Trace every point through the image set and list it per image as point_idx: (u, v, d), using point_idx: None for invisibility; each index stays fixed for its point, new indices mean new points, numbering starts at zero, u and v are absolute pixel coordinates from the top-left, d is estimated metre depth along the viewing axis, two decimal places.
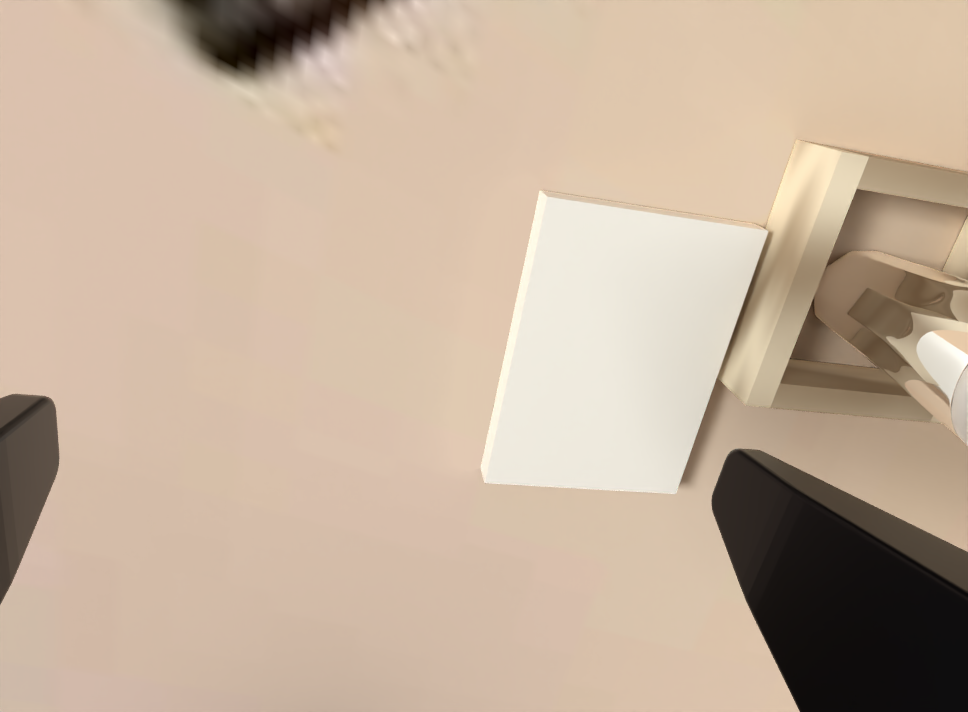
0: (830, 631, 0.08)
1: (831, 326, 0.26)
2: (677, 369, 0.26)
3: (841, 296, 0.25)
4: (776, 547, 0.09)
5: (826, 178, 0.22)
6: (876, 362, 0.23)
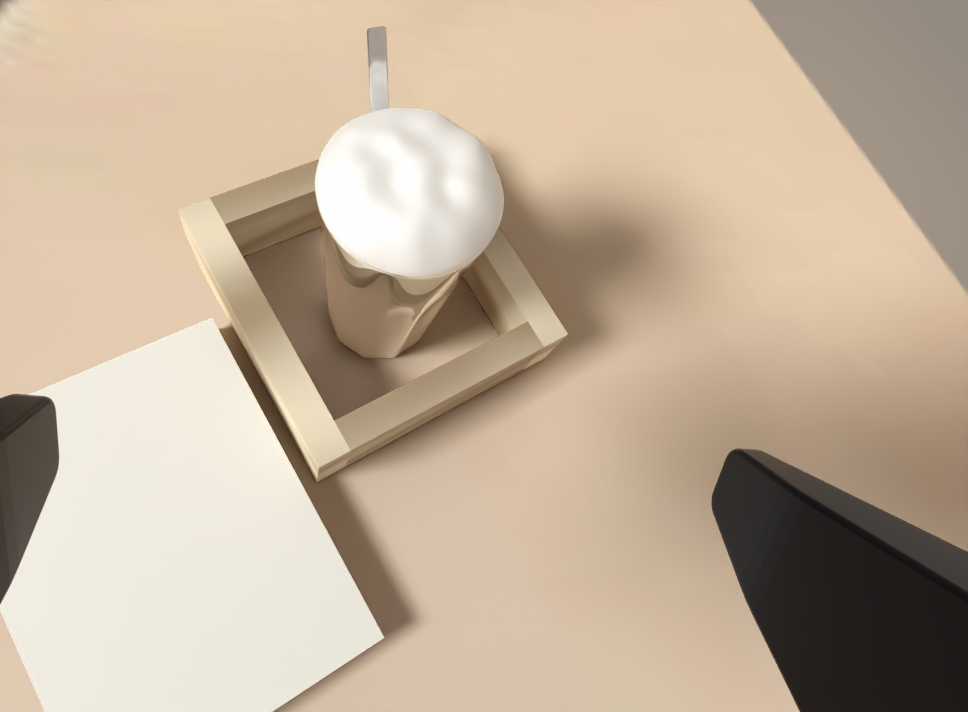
0: (830, 631, 0.08)
1: (363, 346, 0.22)
2: (240, 498, 0.20)
3: (334, 314, 0.22)
4: (776, 547, 0.09)
5: (192, 236, 0.21)
6: (370, 319, 0.20)
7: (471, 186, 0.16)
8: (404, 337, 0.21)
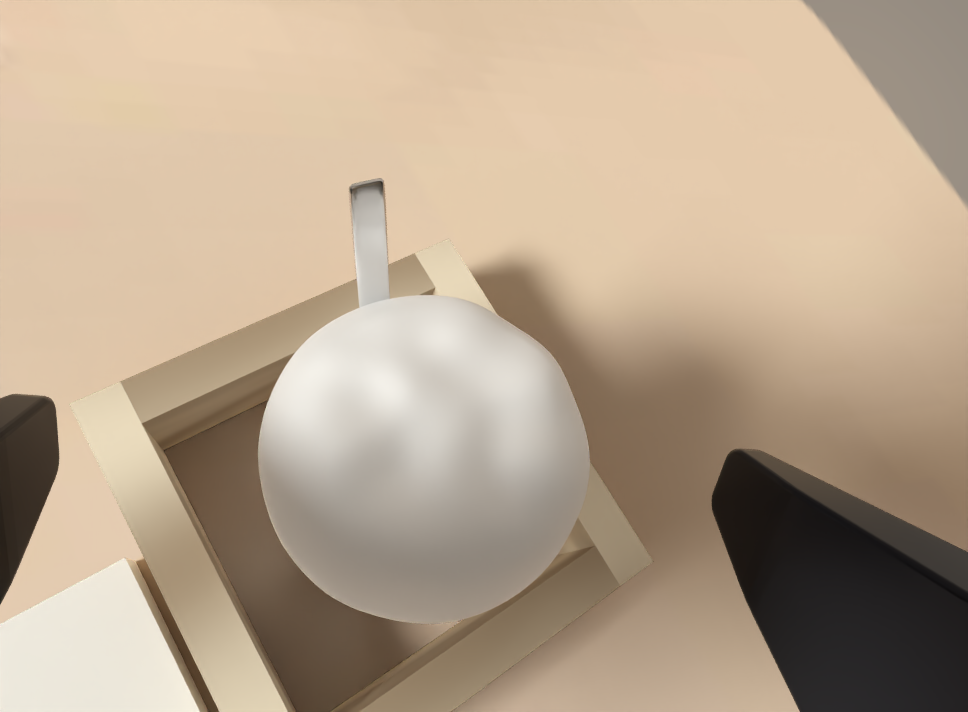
0: (830, 631, 0.08)
1: None
2: None
3: None
4: (776, 547, 0.09)
5: None
6: None
7: (541, 462, 0.09)
8: None
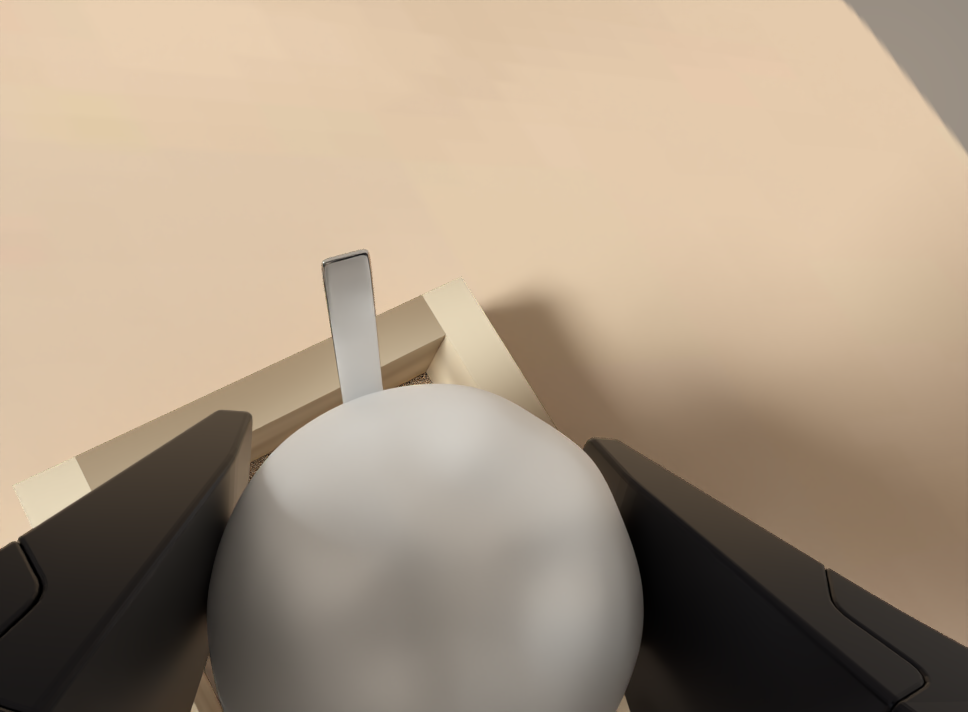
0: (655, 629, 0.08)
1: None
2: None
3: None
4: None
5: None
6: None
7: (584, 628, 0.07)
8: None
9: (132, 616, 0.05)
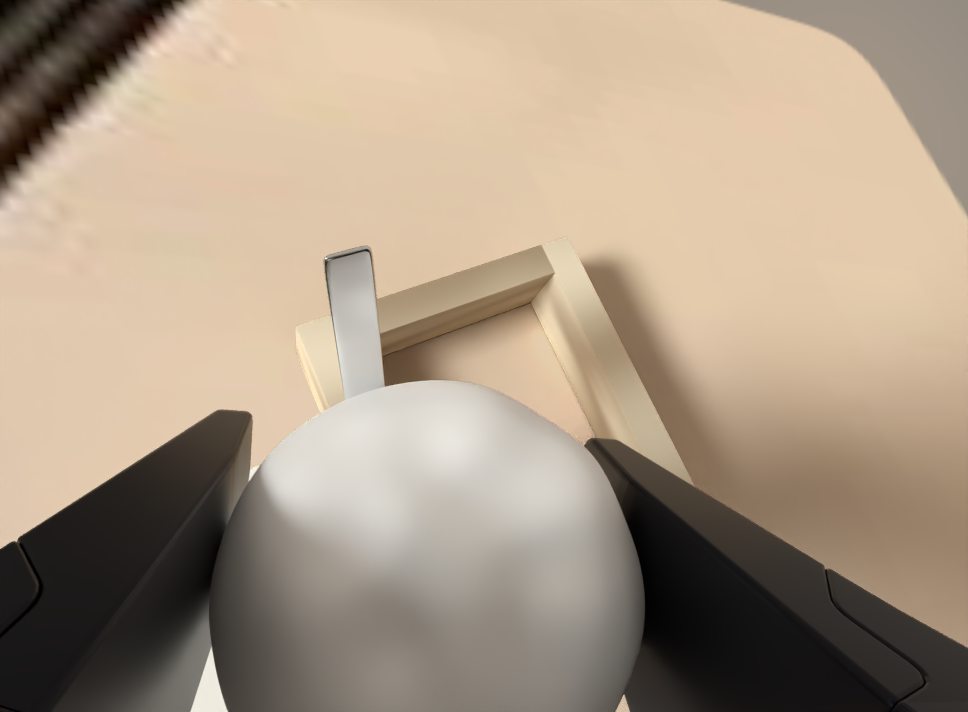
0: (655, 629, 0.08)
1: None
2: None
3: None
4: None
5: (307, 356, 0.19)
6: None
7: (585, 624, 0.07)
8: None
9: (132, 617, 0.05)
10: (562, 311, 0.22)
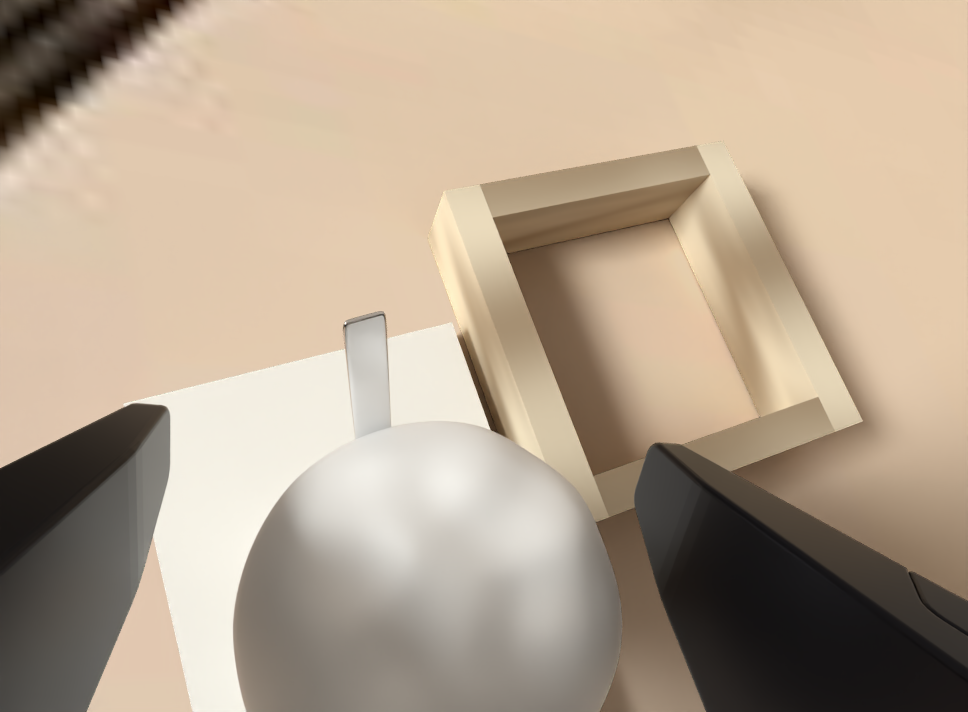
0: (733, 630, 0.08)
1: None
2: None
3: None
4: (687, 543, 0.09)
5: (453, 225, 0.18)
6: None
7: (568, 647, 0.07)
8: None
9: None
10: (712, 219, 0.21)
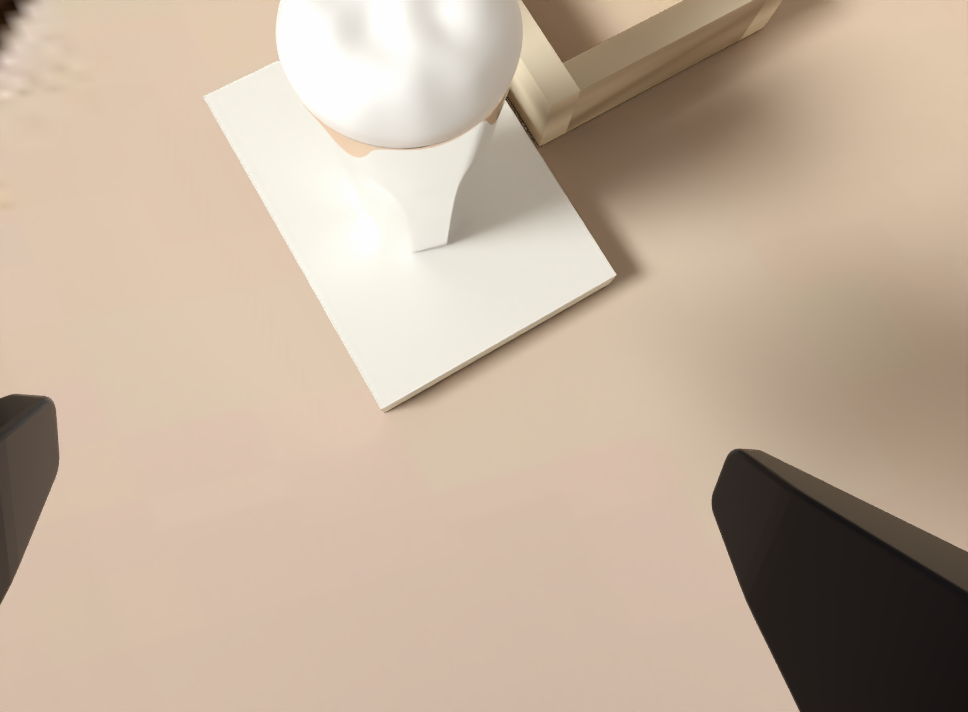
0: (830, 631, 0.08)
1: (407, 240, 0.19)
2: None
3: (365, 211, 0.19)
4: (776, 547, 0.09)
5: None
6: (400, 209, 0.17)
7: (471, 4, 0.12)
8: (448, 219, 0.18)
9: None
10: None
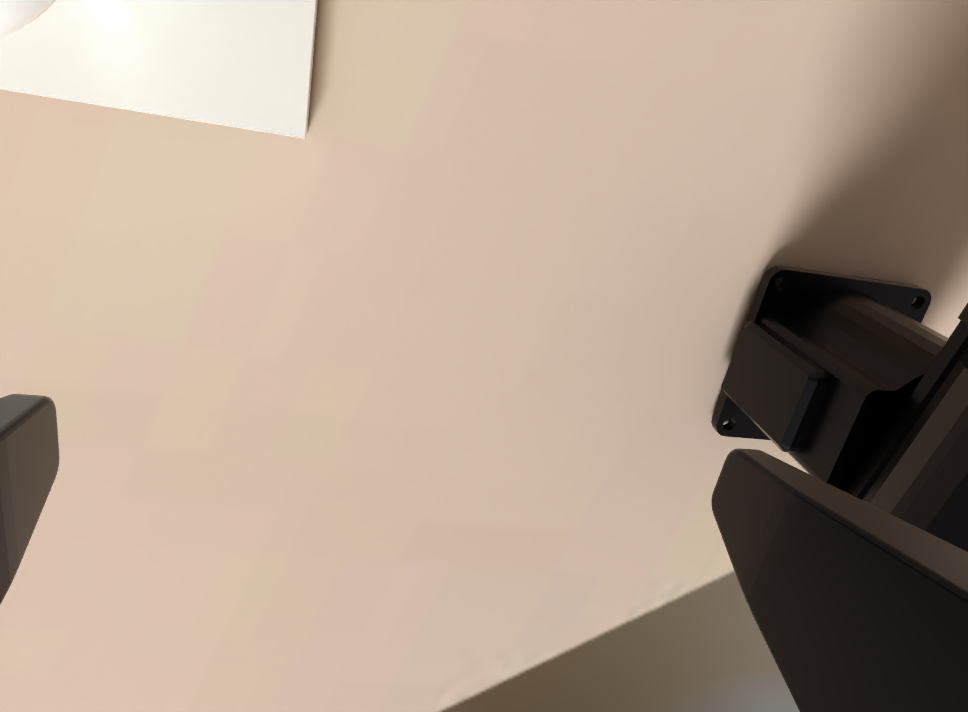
0: (830, 631, 0.08)
1: None
2: None
3: None
4: (776, 547, 0.09)
5: None
6: None
7: None
8: None
9: None
10: None
